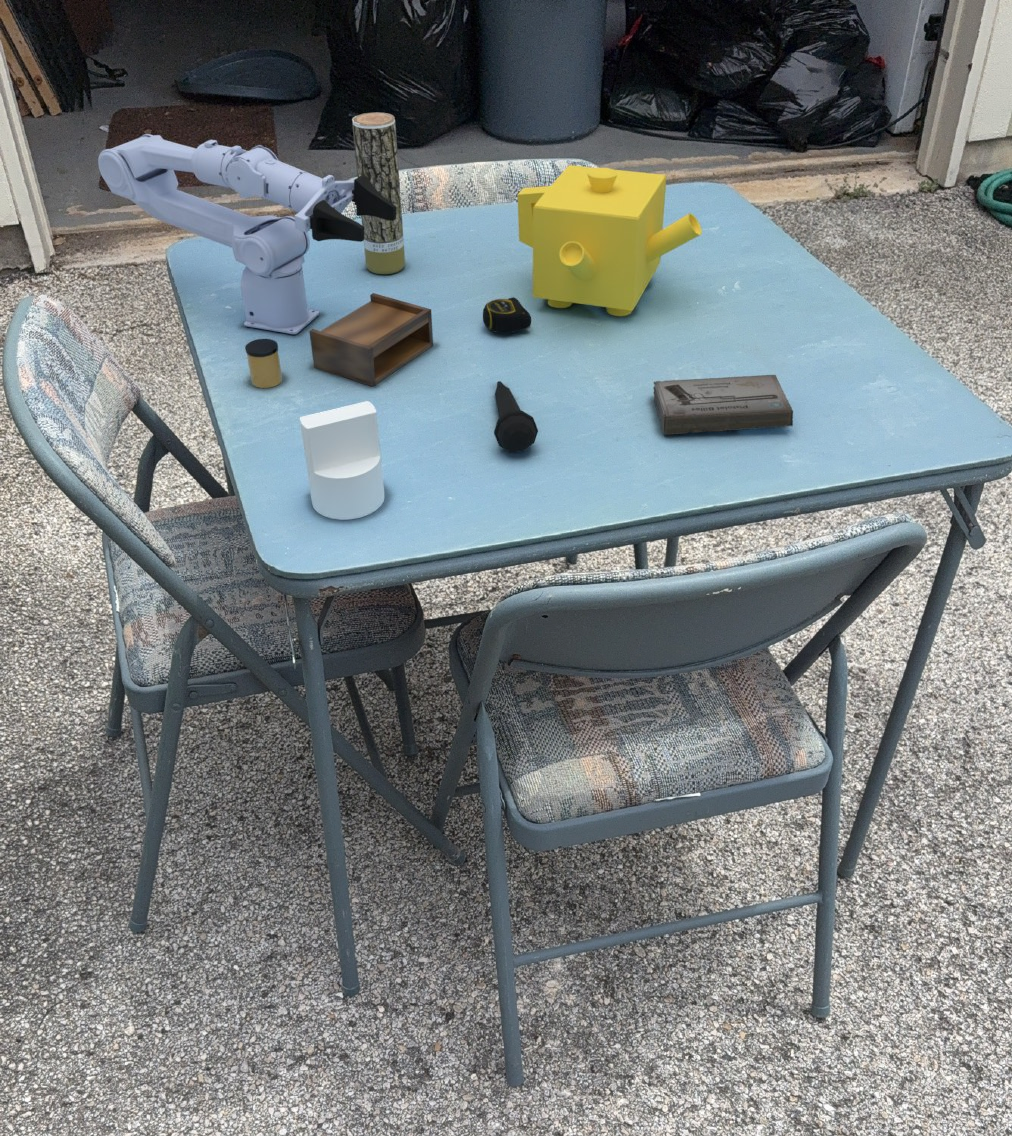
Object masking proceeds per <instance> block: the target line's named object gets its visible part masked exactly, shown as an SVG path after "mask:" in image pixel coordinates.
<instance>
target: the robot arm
mask: <svg viewBox="0 0 1012 1136" xmlns="http://www.w3.org/2000/svg"><path fill="white" fill-rule="evenodd" d="M97 162H98V163H97V165H98V170H99V172H100V175H101V177H102V179H103V180H104V182H105V183H106V185H107V187H108V188H109V190H110V192H111V193H112V194H113V195H116V196H120V197H122V198H124V199H127V200H130V201H131V202H132V203H134V204H135V205H136V206H137V207H139V208H140V209H141V210H142V211H143V212H145V213H147V215H149V216H150V217H151V218H153V219H154V220H157V221H160V222H163V223H165V224H167V225H170V226H173V227H176V228H178V229H181V230H184V231H186V232H189V233H190V234H191V233H192V234H195V235H197V236H199V237H202V238H204V239H207V240H210V241H212V242H215V243H218V244H221V245H224V246H225V247H229V248H231V249H232V254H233V257H234V259H235V261H236V262H238V263H240V264H242V265H244V266H245V267H244V269H243V271H242V273H241V277H240V293H241V297H242V304H243V310H244V316H245V321H244V322H243V326H244V327H249V328H254V329H259V330H266V331H272V332H277V333H283V334H289V335H297V334H299V333H300V332H301V331H302V330H303V329H304V328H305V327H307V326H308V325H309V324H310V323H311V322H312V321H313V320H315V319H316V318H317V317H318V316H319V315H320V311H319V310H314V309H308V300H307V292H306V286H305V277H304V269H303V264H304V263H305V262H306V261H305V255H306V254H307V253H308V252H309V250H310V244H311V242H310V235H309V233H308V232H309V231H310V230H311V238H312V239H313V240H314V241H316V242H322V241H329V240H330V241H331V240H340V241H349V242H357V243H359V242H360V243H362V242H364V227H363V226H362V223H359V222H358V221H355V220H354V219H352V218H350V217H348V216H346V215H344V214H342V213H343V212H344V210H345V209H346V208H347V207H348V206H349V204H350V203H351V202H353V205H355V206H356V217H361V215H368V216H375V217H378V218H382V219H385V220H389V221H394V220H395V219H396V206H395V205H394V204H392V203H391V202H390V201H388V200H387V199H386V198H385V197H383V196H382V195H381V194H380V193H379V192H378V191H377V190H376V189H375V187H374V186H373V185H372V183H371V182H370V180H369V179H368V178H367V177H365V176H360V177H356V178H354V179H350V180H335V176H334V175H331V174H328V175H327V176H324V177H323V178H322V177H320V176H317V175H315V174H312V173H310V172H308V171H305V170H302V169H300V168H298V167H295V166H294V165H293V166H292V165H290V164H288V163H285V162H282V161H281V160H279V159H278V157H277V155H276V153H274V152H273V151H272V149H270V148H268V147H265V146H263V145H261V144H258V145H255V146H254V147H252V148H251V149H250V150H246V149H243V148H242V147H241V146H240V145H234V146H226V145H221V144H219V143H218V140H217V139H208V140H206V141H205V142H203V143H201V144H199V145H198V146H197V148H195V147H192V146H189V145H185V144H180V143H178V142H177V143H176V142H173V141H170V140H166V139H164V138H163V137H162V136H161V135H159V134H156V135H153V134H150V133H145V134H142V135H141V136H139V137H137V138H134V139H133V140H129V141H128V142H125V143H122V144H120V145H116V146H114V147H112V148H106V149H103V150H102V151H100V152H99V155H98V160H97ZM175 171H178V172H186V173H193V174H194V175H195V177H196V179H198V180H199V182H201V183H204V184H210V185H215V186H219V187H224V188H229V189H232V190H233V191H235V192H236V193H237V194H238V195H239V198H241V199H244V200H247V199H251V198H253V197H257V198H260V199H265V200H268V201H270V202H272V203H275V204H277V205H280V206H282V207H285V208H287V209H289V210H292V211H294V212H296V214H294V216H291V215H284V216H282V217H279V216H275V215H273V214H272V215H271V214H270V215H269V214H268V215H258V216H250V215H248V214H245V213H242V212H240V211H237V210H235V209H232V208H229V207H226V206H224V205H220V204H218V203H214V202H212V201H209V200H206V199H204V198H201V197H198V196H196V195H193V194H191V193H187V192H184V191H183V190H179V189H178V187H179V181H178V178H177V176H176V173H175Z"/></svg>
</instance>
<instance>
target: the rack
mask: <svg viewBox="0 0 1012 1136" xmlns="http://www.w3.org/2000/svg"><path fill="white" fill-rule="evenodd" d="M369 297H370V300H369V301H368V302H367V303H364V304H363V305H362V306H360V307H358V308H357V309H355V310H353V311H351V312H350V313H348V314H347V315H345V316H343V317H341V318H340V319H338V320H336V321H334V322H333V323H331V324H330V325H328V326H327V327H325V328H323V329H321V330H318V329H315V328H311V329H310V330H309V331H308V332H309V340H310V347H311V356H312V363H313V368H314V369H317V370H320V371H323V372H326V373H329V374H332V375H336V376H339V377H342V378H345V379H348V380H350V381H354V382H357V383H359V384H363V385H365V386H366V385H367V386H369V387H372V388H373V387H374V386H377V385H378V384H379V383H380V382H382V381H383V380H385V379H386V378H387V377H389V376H391V375H392V374H393V373H395V372H396V371H398V370H400V369H401V368H402V367H404V366H405V365H407V364H408V363H410V362H411V361H412V360H414V359H416V358H417V357H418V356H420V355H422V354H423V353H424V352H426V351H428V350H429V349H430V348H432V347H433V346H434V335H433V334H434V333H433V316H432V309H431V308H428V307H425V306H421V305H417V304H414V303H410V302H407V301H403V300H400V299H397V298H393V297H389V296H385V295H383V294H378V293H375V292H372V293H370V295H369Z"/></svg>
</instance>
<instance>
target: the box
mask: <svg viewBox="0 0 1012 1136" xmlns="http://www.w3.org/2000/svg"><path fill="white" fill-rule="evenodd" d="M653 385H654V386H653V388H652V389H653V401H654V406H655V408H656V412H657V416H658V419H659V424H660V426H661V430H662V433H663V435H664V436H665V435H680V434H681V435H682V434H684V435H685V434H689V433H696V434H698V433H702V432H704V433H705V432H706V433H707V432H722V431H724V432H726V431H735V430H737V431H739V430H753V429H754V430H755V429H770V428H782V427H783V428H784V427H793V425H794V422H793V421H794V420H793V419H794V410H793V407H792V406H791V404H790V402H789V400H788V398H787V396H786V394H785V392H784V390H783V388H782V386H781V383H780V381H779V379H778V377H777V375H776V374H762V375H759V374H758V375H749V376H748V375H745V376H744V375H743V376H725V377H710V378H708V377H707V378H693V379H692V378H691V379H672V380H663V381H661V380H655V381H653Z"/></svg>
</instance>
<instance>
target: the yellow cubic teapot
mask: <svg viewBox="0 0 1012 1136" xmlns="http://www.w3.org/2000/svg"><path fill="white" fill-rule="evenodd" d="M666 187H667V175H666V174H659V173H650V172H641V171H640V172H639V171H631V170H622V169H621V170H620V169H612V168H610V167H592V166H591V167H590V166H581V165H571V164H569V165H568V166H567V167H565V169H564V170H563V171H562V173H560V174H559V176H558V177H557V178H556V179H555V180H554V181H553V183H552V184H551V185H544V186H531V187H523V188H522V189H521V190H520V191H519V192H518V194H517V196H516V197H517V217H518V241H519V242H520V243H523V244H525V245H527V246H528V247H530V248H532V298H534V299H535V298H536V299H543V300H547V305H548V306H550V307H552V308H555V309H565V308H568V307H571V306H572V305H573V304H580V305H588V306H595V307H602V308H606V312H607V313H608V314H609V315H611V316H613V317H614V316H615V317H625V316H628V315H631V314H632V313H633V311H634V310H635V308H636V306H637V304H638V302H639V301H640V299H641V297H642V296H643V294H644V292H645V290H646V288H647V287H648V285H649V283H650V281H651V280H652V278H653V276H654V274H655V273H656V271H657V269H658V268H659V265H660V263H661V257H663V256H664V255H666V254H667V253H670V252H671V251H673V250H675V249H677V248H679V247H681V246H683V245H685V244H686V243H689V242H691V241H692V240H694V239H696V238H697V237H700V236H701V235H702V234H703V230H702V227H701V224H700V222H699V221H698V219H697V217H696V216H695V215H694V214H693V213H691V212H689V213H688V214H686V215H683V216H682V217H681V218H678V219H677V220H676V221H674V222H672V223H671V224H669V225H667V226H665V227H664V216H665V201H666Z"/></svg>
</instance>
